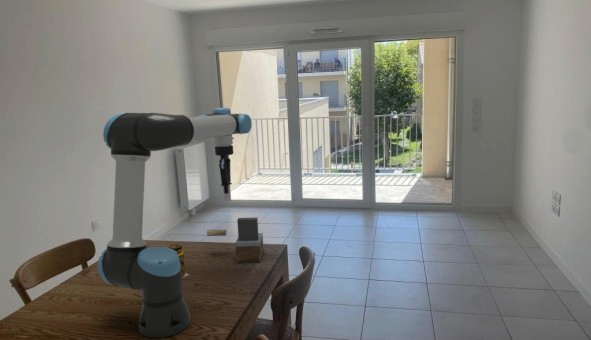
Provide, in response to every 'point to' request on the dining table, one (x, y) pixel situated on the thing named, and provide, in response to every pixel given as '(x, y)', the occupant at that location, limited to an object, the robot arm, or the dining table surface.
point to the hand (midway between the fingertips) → (227, 200)
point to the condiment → (180, 258)
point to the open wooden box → (249, 253)
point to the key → (216, 233)
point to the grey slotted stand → (248, 232)
